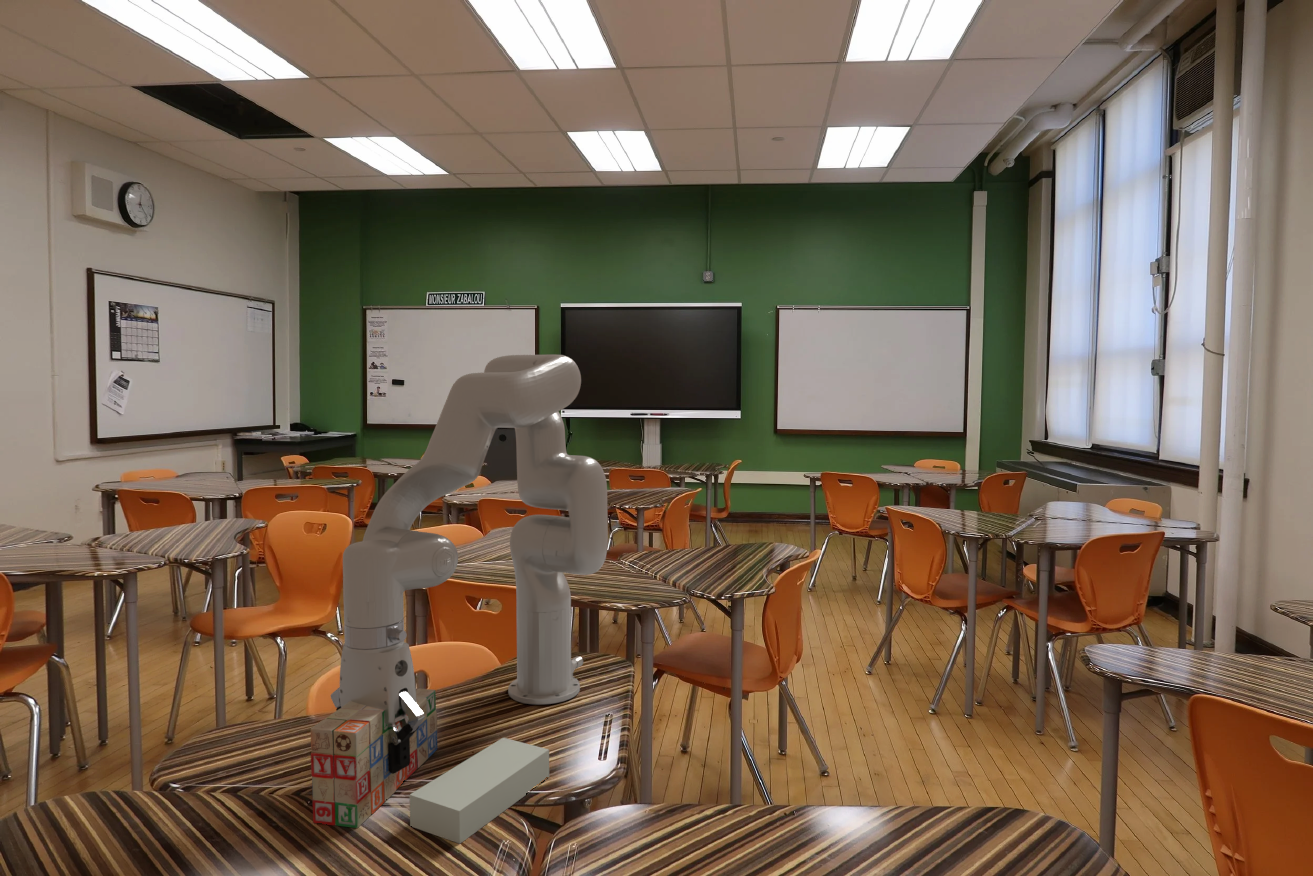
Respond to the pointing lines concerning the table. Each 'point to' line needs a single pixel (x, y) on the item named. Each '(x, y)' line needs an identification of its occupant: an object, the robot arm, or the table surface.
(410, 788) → the table surface
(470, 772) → the base block
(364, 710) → the stack of blocks
